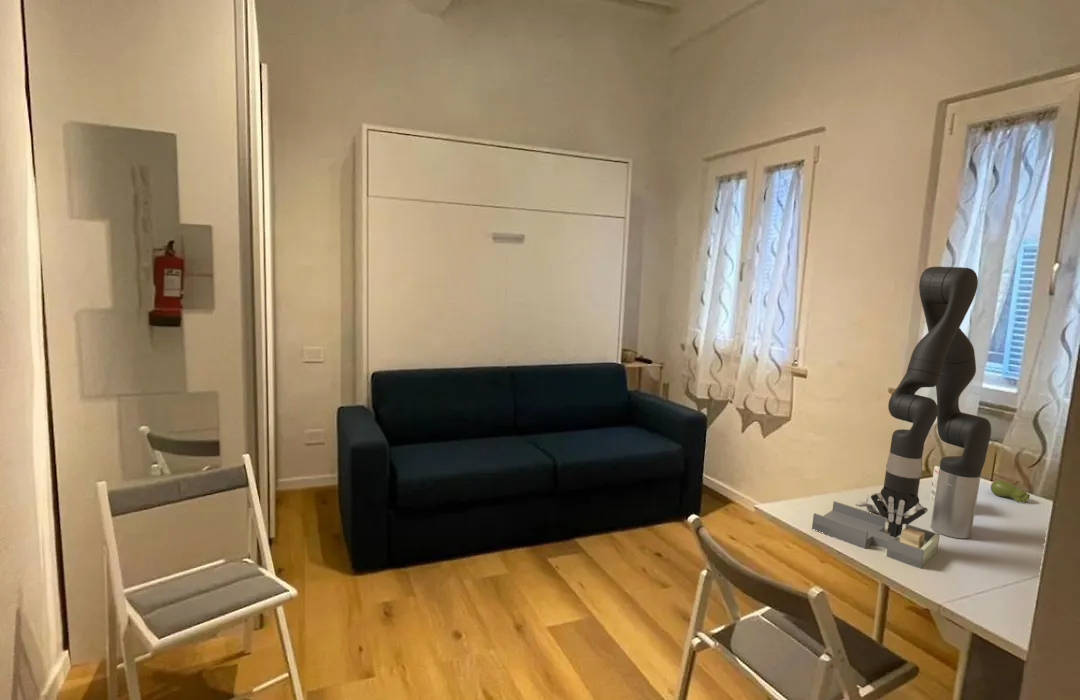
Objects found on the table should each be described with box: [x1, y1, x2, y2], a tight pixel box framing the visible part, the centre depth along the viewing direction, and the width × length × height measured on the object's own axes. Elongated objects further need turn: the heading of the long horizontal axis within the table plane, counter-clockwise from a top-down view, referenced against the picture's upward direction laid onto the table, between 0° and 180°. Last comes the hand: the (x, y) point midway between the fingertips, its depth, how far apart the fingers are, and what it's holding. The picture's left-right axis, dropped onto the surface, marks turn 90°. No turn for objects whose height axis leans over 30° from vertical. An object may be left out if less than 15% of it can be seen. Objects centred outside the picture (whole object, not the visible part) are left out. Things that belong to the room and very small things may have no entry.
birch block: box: [899, 526, 925, 549], centre depth 150 cm, size 4×4×4 cm
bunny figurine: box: [855, 494, 888, 516], centre depth 175 cm, size 10×5×15 cm
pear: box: [990, 479, 1031, 503], centre depth 191 cm, size 6×5×10 cm
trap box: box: [811, 500, 941, 569], centre depth 157 cm, size 14×26×4 cm, turn 43°
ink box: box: [929, 465, 940, 506], centre depth 180 cm, size 9×5×12 cm, turn 168°
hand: (893, 535), depth 153 cm, fingers closed
